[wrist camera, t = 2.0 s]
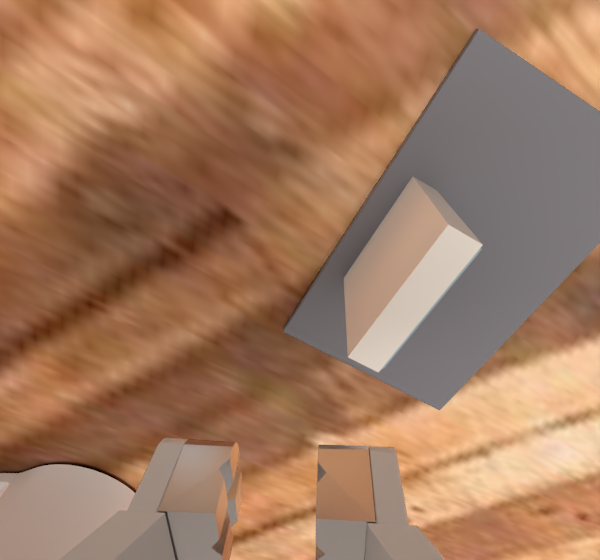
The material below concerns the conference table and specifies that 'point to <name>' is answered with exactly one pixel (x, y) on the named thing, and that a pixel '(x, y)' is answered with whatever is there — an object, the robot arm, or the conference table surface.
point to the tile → (404, 273)
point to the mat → (478, 216)
